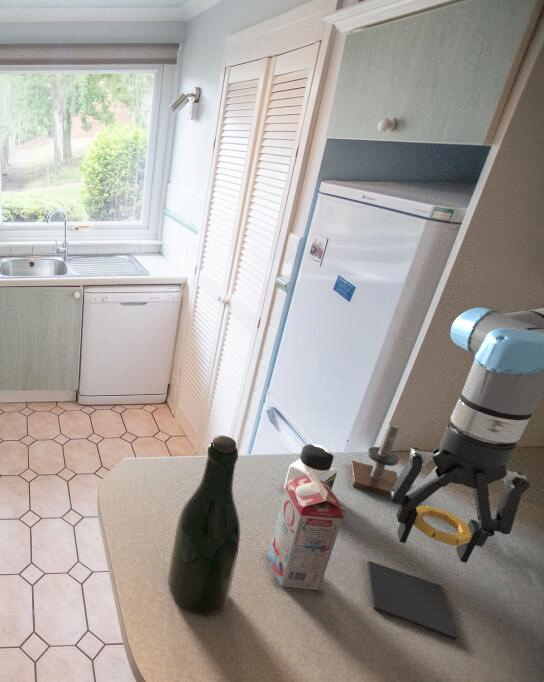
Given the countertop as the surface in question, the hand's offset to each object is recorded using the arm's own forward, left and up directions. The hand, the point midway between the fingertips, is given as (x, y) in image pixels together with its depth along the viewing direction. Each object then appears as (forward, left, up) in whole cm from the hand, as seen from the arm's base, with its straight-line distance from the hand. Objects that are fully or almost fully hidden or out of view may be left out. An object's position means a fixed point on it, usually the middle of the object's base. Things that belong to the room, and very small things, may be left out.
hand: (430, 546), depth 76 cm
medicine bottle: (+16, -22, -13) cm, 30 cm away
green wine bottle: (+33, +17, -13) cm, 39 cm away
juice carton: (+18, +4, -13) cm, 22 cm away
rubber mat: (0, 0, -12) cm, 12 cm away
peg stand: (+2, -34, -12) cm, 36 cm away
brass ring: (0, 0, +4) cm, 4 cm away
